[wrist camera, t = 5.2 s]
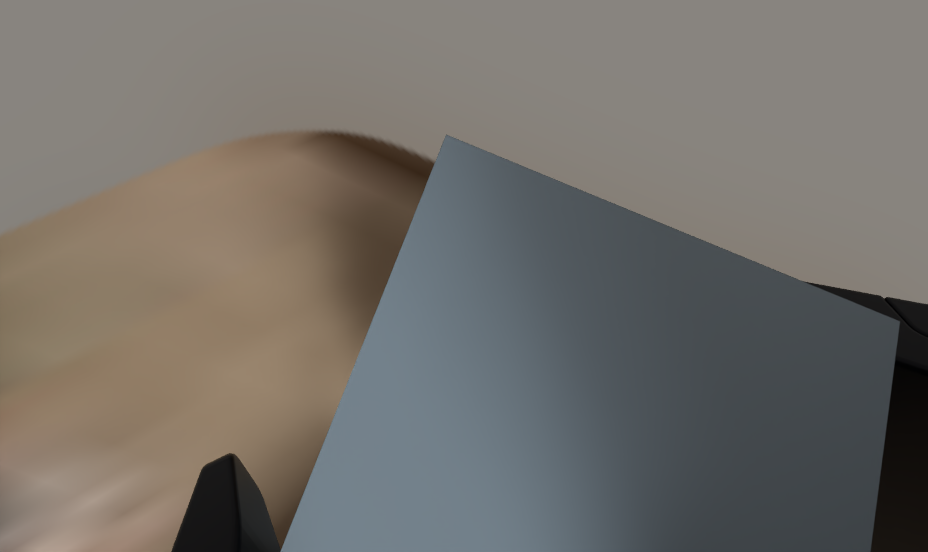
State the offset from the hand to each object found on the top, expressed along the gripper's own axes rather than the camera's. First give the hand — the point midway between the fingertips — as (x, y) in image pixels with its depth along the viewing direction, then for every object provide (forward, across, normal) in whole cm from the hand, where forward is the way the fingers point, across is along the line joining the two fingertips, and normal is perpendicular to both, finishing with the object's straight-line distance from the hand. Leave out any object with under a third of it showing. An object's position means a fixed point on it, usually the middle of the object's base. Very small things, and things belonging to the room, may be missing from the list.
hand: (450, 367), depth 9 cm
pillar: (+4, 0, +6) cm, 7 cm away
